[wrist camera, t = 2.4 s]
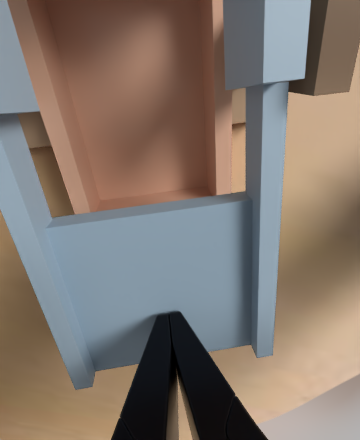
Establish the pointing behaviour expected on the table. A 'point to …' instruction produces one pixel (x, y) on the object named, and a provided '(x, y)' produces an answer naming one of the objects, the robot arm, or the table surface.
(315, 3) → the stand
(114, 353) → the lever
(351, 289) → the table surface
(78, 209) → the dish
